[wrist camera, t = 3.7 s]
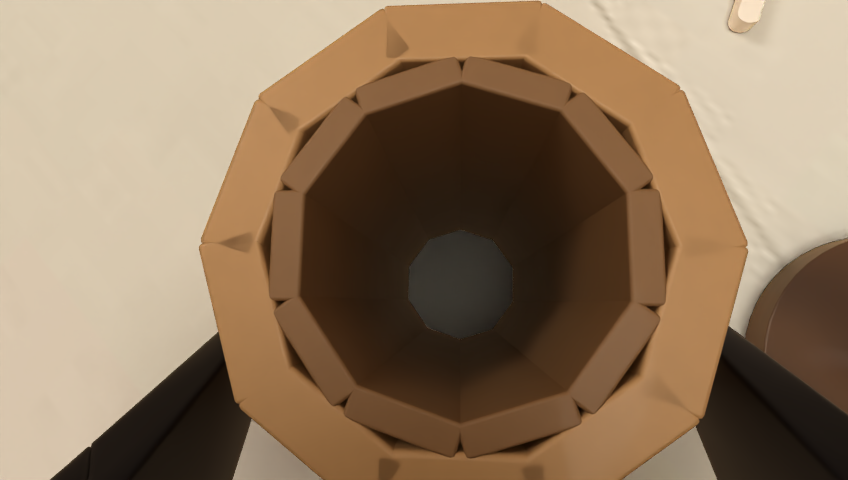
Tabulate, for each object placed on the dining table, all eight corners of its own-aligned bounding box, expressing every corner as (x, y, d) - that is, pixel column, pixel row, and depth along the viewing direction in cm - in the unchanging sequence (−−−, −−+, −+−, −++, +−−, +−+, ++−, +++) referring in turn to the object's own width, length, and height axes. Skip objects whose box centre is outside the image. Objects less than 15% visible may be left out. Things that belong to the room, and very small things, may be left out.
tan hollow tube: (482, 408, 18) (536, 666, 5) (341, 298, 19) (99, 291, 6) (582, 268, 19) (859, 193, 6) (439, 167, 20) (401, -89, 7)
